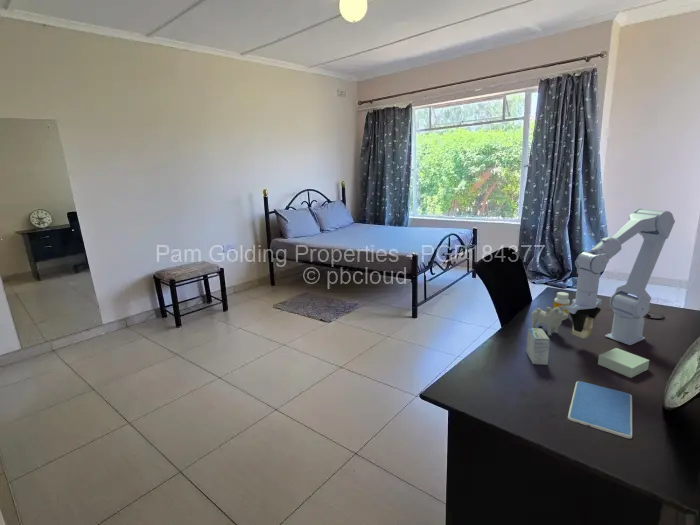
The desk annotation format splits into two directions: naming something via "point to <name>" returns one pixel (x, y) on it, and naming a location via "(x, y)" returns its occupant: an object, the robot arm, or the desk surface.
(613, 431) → the tablet computer
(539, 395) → the desk surface
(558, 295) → the supplement bottle
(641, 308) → the robot arm
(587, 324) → the maple block
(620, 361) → the sage base block
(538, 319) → the white animal figurine
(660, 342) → the desk surface
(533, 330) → the medicine box
